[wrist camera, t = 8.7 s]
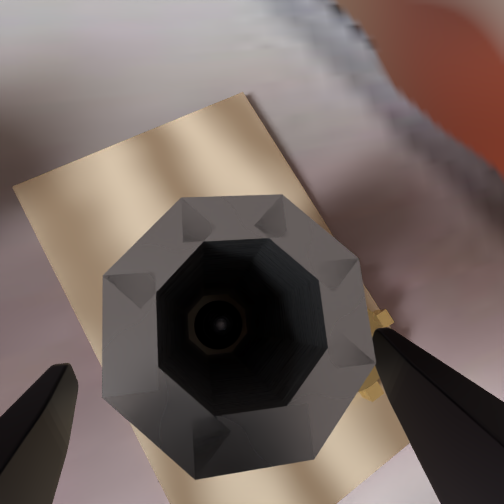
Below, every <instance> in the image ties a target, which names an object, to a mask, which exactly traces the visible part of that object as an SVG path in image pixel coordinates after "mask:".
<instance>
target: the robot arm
mask: <svg viewBox="0 0 504 504" xmlns="http://www.w3.org/2000/svg"><path fill="white" fill-rule="evenodd" d="M372 341H373V347H374V353H375V359H376V364H375V367H376V370H377V372H378V375H379V377H380V380H381V383H382V385H383V388H384V390H385V393H386V395H387V398H388V400H389V402H390V404H391V406H392V408H393V410H394V412H395V414H396V416H397V418H398V420H399V422H400V424H401V426H402V428H403V430H404V432H405V434H406V436H407V438H408V440H409V442H410V444H411V446H412V448H413V450H414V452H415V454H416V456H417V458H418V460H419V462H420V464H421V466H422V468H423V470H424V471H425V473H426V475H427V477H428V479H429V481H430V483H431V485H432V487H433V489H434V491H435V493H436V495H437V497H438V499H439V501H440V503H441V504H504V402H503V401H501V400H500V399H498V398H497V397H495V396H494V395H492V394H491V393H489V392H487V391H486V390H484V389H483V388H481V387H480V386H478V385H477V384H475V383H474V382H472V381H471V380H469V379H468V378H466V377H465V376H463V375H461V374H460V373H458V372H457V371H455V370H454V369H452V368H451V367H449V366H448V365H446V364H445V363H443V362H442V361H440V360H438V359H437V358H435V357H434V356H432V355H431V354H429V353H428V352H426V351H425V350H423V349H422V348H420V347H419V346H417V345H415V344H414V343H412V342H411V341H409V340H408V339H406V338H405V337H403V336H402V335H400V334H399V333H397V332H396V331H394V330H392V329H391V328H388V327H384V328H377V329H376V330H375V331H374V334H373V337H372ZM77 393H78V381H77V379H76V376H75V374H74V371H73V369H72V366H71V365H70V364H69V363H63V364H55V365H52V366H51V367H50V368H49V369H48V370H47V371H46V372H45V373H44V374H43V375H42V376H41V377H40V378H39V379H38V380H37V381H36V382H35V383H34V384H33V385H32V386H31V387H30V388H29V389H28V390H27V391H26V392H25V393H24V394H23V395H22V396H21V397H20V398H19V399H18V400H17V401H16V402H15V403H14V404H13V405H12V406H11V407H10V408H9V409H8V410H7V411H6V412H5V413H4V414H3V415H2V416H1V417H0V504H52V502H53V499H54V496H55V492H56V489H57V485H58V482H59V478H60V475H61V471H62V468H63V464H64V461H65V457H66V453H67V449H68V445H69V440H70V434H71V428H72V422H73V417H74V411H75V405H76V399H77Z"/></svg>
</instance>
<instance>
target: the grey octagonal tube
mask: <svg viewBox="0 0 504 504" xmlns="http://www.w3.org/2000/svg"><path fill="white" fill-rule="evenodd" d="M221 294H228V295H229V296H230V297H231V298H232V299H234V300H235V301H236V302H237V303H238V304H239V305H241V306H242V307H243V308H244V309H245V317H246V329H247V333H246V335H245V336H244V337H243V338H242V340H241V341H240V342H239V343H238V345H237V346H236V347H235V348H234V350H233V351H232V352H227V353H218V354H209V355H207V354H206V353H205V352H204V351H203V350H201V349H200V348H199V347H198V346H197V345H196V344H195V343H193V342H192V341H191V340H190V339H189V327H188V313H189V312H190V311H191V310H192V309H193V308H194V307H195V305H196V304H197V303H198V302H199V301H200V300H201V299H202V297H203V296H208V295H221ZM375 364H376V359H375V353H374V347H373V341H372V334H371V328H370V322H369V316H368V310H367V304H366V298H365V292H364V286H363V280H362V274H361V268H360V262H359V258H358V257H357V256H355V255H354V254H353V253H352V252H351V251H349V250H348V249H347V248H346V247H345V246H343V245H342V244H341V243H340V242H339V241H338V240H336V239H335V238H334V237H333V236H332V235H330V234H329V233H328V232H327V231H326V230H324V229H323V228H322V227H321V226H320V225H318V224H317V223H316V222H315V221H314V220H312V219H311V218H310V217H309V216H308V215H306V214H305V213H304V212H303V211H302V210H300V209H299V208H298V207H297V206H296V205H294V204H293V203H292V202H291V201H290V200H289V199H287V198H286V197H285V196H284V195H283V194H275V195H243V196H211V197H181V198H180V199H179V200H178V201H177V202H176V203H175V204H174V205H173V206H172V207H171V208H170V209H169V210H168V211H167V212H166V213H165V214H164V215H163V216H162V217H161V218H160V219H159V220H158V221H157V222H156V223H155V224H154V225H153V226H152V227H151V228H150V229H149V230H148V231H147V232H146V233H145V234H144V235H143V236H142V237H141V238H140V239H139V240H138V241H137V242H136V243H135V244H134V245H133V246H132V247H131V248H130V249H129V250H128V251H127V252H126V253H125V254H124V255H123V256H122V257H121V258H120V259H119V260H118V261H117V262H116V263H115V264H114V265H113V266H112V267H111V268H110V269H109V270H108V271H107V272H106V273H105V274H104V275H103V286H102V398H103V399H104V400H105V401H107V402H108V403H109V404H110V405H111V406H112V407H113V408H114V409H116V410H117V411H118V412H119V413H120V414H121V415H122V416H123V417H125V418H126V419H127V420H128V421H129V422H130V423H131V424H132V425H134V426H135V427H136V428H137V429H138V430H139V431H140V432H142V433H143V434H144V435H145V436H146V437H147V438H148V439H149V440H151V441H152V442H153V443H154V444H155V445H156V446H157V447H158V448H160V449H161V450H162V451H163V452H164V453H165V454H166V455H167V456H169V457H170V458H171V459H172V460H173V461H174V462H175V463H176V464H178V465H179V466H180V467H181V468H182V469H183V470H184V471H186V472H187V473H188V474H189V475H190V476H191V477H192V478H193V479H195V480H198V479H204V478H209V477H215V476H221V475H227V474H233V473H239V472H244V471H250V470H256V469H262V468H268V467H274V466H279V465H285V464H291V463H297V462H303V461H308V460H314V459H315V457H316V456H317V454H318V453H319V451H320V450H321V448H322V447H323V445H324V443H325V442H326V440H327V439H328V437H329V436H330V434H331V433H332V431H333V429H334V428H335V426H336V425H337V423H338V422H339V420H340V419H341V417H342V416H343V414H344V412H345V411H346V409H347V408H348V406H349V405H350V403H351V402H352V400H353V398H354V397H355V395H356V394H357V392H358V391H359V389H360V388H361V386H362V385H363V383H364V381H365V380H366V378H367V377H368V375H369V374H370V372H371V371H372V369H373V367H374V366H375Z"/></svg>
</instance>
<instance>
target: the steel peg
mask: <svg viewBox="0 0 504 504" xmlns="http://www.w3.org/2000/svg"><path fill="white" fill-rule="evenodd" d="M194 329H195V333H196V336H197V338H198V339H199V341H200V342H201V343H202V344H203V345H205V346H206V347H208V348H211V349H225V348H227V347H229V346H231V345H232V344H234V343H235V342H236V340H237V339H238V338H239V336H240V334H241V331H242V318H241V315H240V313H239V311H238V310H237V309H236V307H234V306H233V305H232V304H230V303H228V302H226V301H220V300H218V301H212V302H209V303H207V304H206V305H204V306H203V307H202V308H201V309H200V310H199V311H198V313H197V315H196V318H195V322H194Z"/></svg>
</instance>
